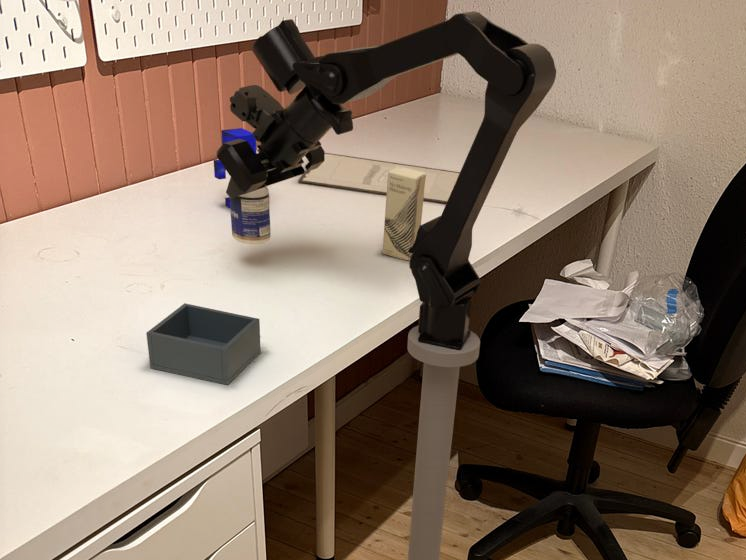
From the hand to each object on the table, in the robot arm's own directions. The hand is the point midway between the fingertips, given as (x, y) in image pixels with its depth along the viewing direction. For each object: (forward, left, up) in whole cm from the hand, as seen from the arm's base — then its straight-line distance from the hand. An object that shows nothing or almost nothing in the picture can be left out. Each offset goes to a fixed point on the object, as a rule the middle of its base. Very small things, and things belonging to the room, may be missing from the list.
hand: (241, 190), depth 140 cm
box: (-20, -17, -11) cm, 28 cm away
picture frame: (-5, -56, -11) cm, 57 cm away
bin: (-9, +33, -11) cm, 36 cm away
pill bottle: (-1, 0, -7) cm, 7 cm away
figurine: (+11, -24, -11) cm, 28 cm away
